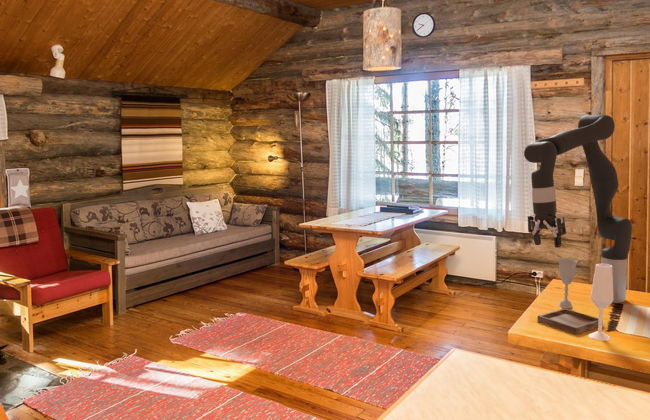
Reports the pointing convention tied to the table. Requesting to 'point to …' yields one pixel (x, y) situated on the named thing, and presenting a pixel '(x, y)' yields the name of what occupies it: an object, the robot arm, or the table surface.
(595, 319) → the tray
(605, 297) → the champagne flute
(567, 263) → the chalice
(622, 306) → the table surface
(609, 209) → the robot arm
